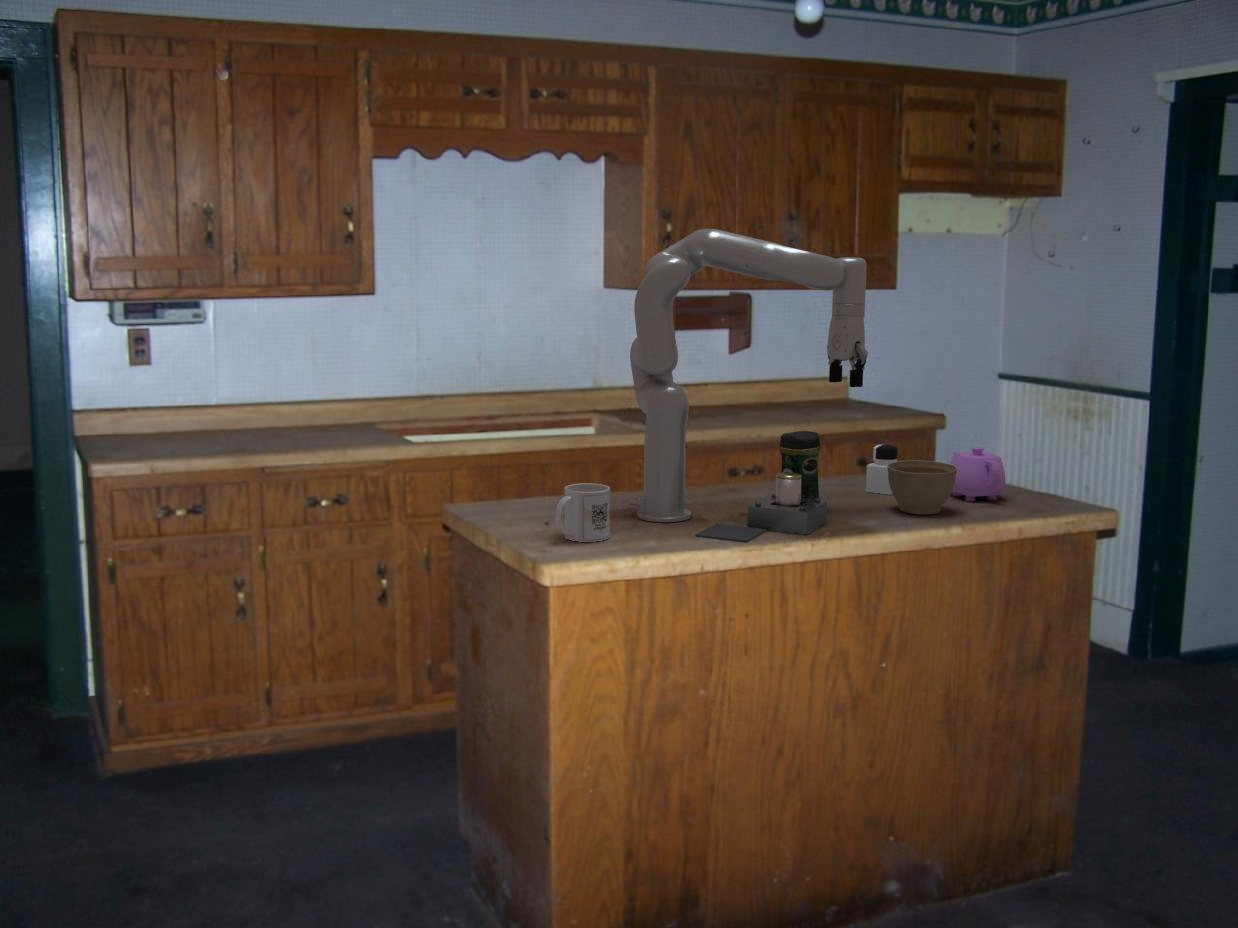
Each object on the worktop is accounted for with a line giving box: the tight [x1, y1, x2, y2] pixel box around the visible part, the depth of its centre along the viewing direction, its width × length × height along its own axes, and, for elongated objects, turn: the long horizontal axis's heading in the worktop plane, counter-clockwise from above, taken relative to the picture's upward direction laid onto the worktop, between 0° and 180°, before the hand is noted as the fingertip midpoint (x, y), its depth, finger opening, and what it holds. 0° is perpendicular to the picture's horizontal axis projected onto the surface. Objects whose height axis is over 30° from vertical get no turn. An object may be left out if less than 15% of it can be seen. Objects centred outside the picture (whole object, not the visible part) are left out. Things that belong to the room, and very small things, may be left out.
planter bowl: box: [887, 459, 957, 516], centre depth 305 cm, size 16×16×11 cm
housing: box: [746, 493, 829, 535], centre depth 290 cm, size 14×14×6 cm
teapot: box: [949, 446, 1006, 502], centre depth 322 cm, size 20×12×13 cm, turn 15°
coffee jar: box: [779, 430, 821, 499], centre depth 308 cm, size 10×8×19 cm
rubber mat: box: [695, 523, 768, 543], centre depth 282 cm, size 12×12×1 cm
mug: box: [554, 482, 611, 543], centre depth 276 cm, size 10×12×11 cm
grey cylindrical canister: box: [775, 472, 801, 507], centre depth 290 cm, size 6×6×12 cm
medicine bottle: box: [865, 443, 899, 496], centre depth 328 cm, size 7×7×12 cm
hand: (845, 384), depth 301 cm, fingers open, 9 cm apart
